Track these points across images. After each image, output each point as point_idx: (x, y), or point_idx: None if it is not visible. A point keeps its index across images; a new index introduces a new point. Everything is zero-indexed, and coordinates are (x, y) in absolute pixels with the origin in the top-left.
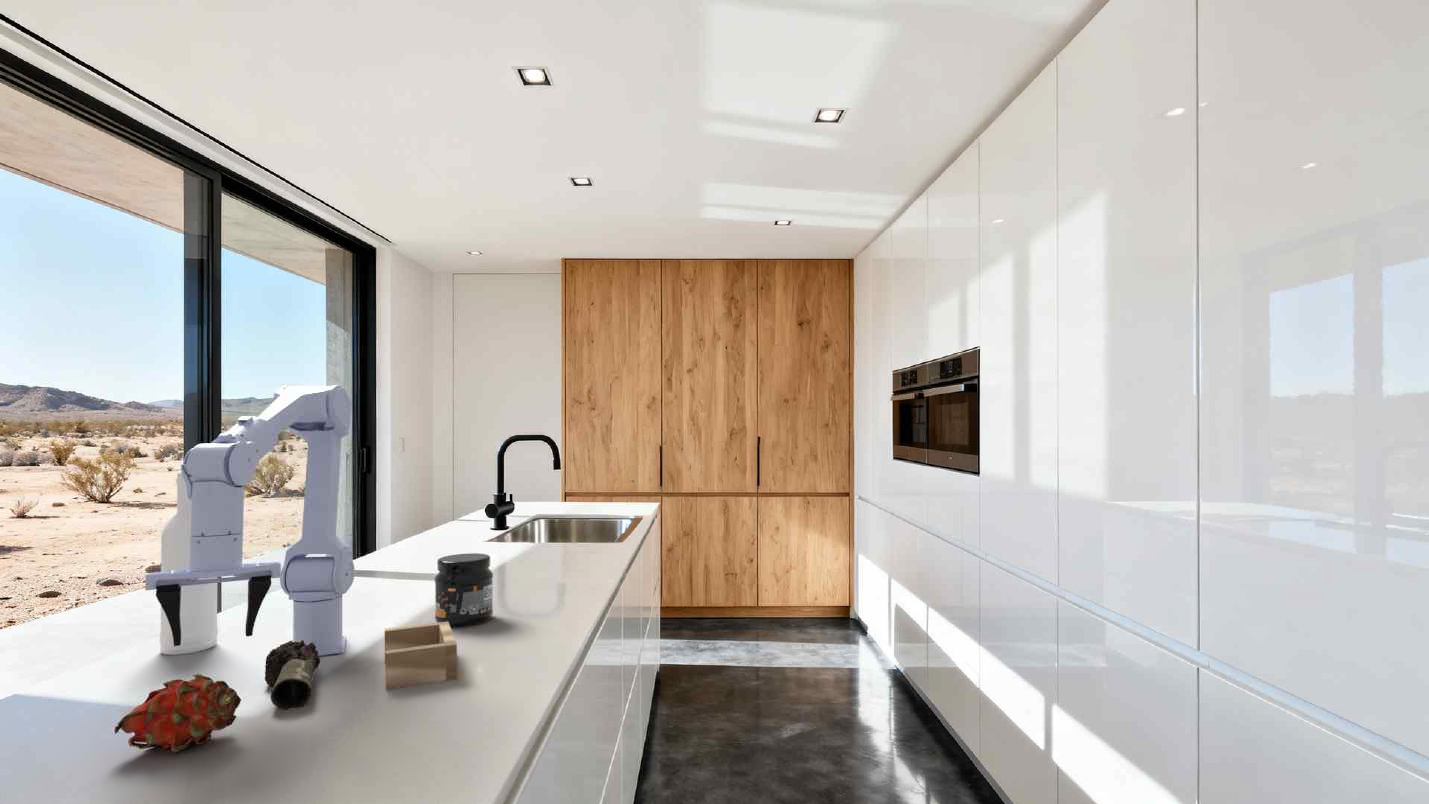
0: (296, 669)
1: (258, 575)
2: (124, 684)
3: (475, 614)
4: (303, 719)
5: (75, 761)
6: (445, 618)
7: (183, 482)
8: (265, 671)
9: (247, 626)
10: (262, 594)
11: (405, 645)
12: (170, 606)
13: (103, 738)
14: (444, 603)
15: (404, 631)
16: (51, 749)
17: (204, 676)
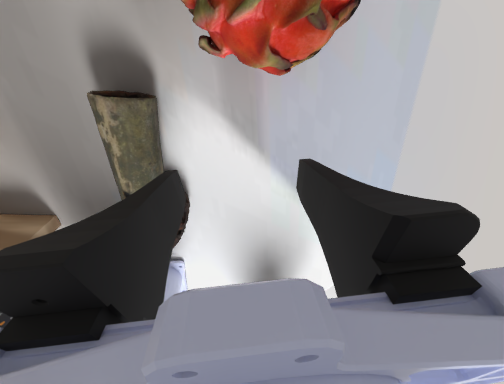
0: (118, 147)
1: (64, 349)
2: (309, 254)
3: None
4: (92, 16)
5: (375, 39)
6: None
7: None
8: (186, 205)
9: (166, 178)
10: (63, 230)
11: (6, 229)
12: (382, 197)
13: (339, 114)
14: (2, 327)
15: None
16: (383, 109)
17: (243, 4)
